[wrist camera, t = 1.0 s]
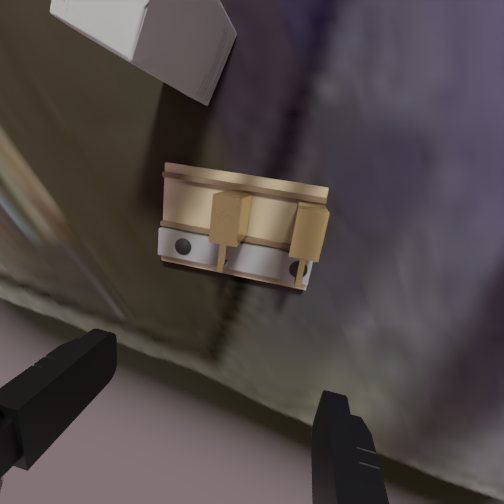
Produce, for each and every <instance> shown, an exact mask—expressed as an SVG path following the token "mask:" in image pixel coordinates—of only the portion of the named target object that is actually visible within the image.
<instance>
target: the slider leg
mask: <svg viewBox="0 0 504 504" xmlns="http://www.w3.org/2000/svg"><path fill="white" fill-rule="evenodd" d="M252 198H253V194H250V193H244V192H238V191H232V190H227V191H223V192H219V193H215V194H213V200H212V211H211V221H210V232H209V242H212V243H217V244H220V246H219V255H218V264H217V272H221V273H222V272H223V271H224V270H225V269H226V267H227V266H228V260H225V254H226V245H227V246H232V247H237V246H238V244H239V243H240V242H241V241H242V240H243V239H244V238H245V236H246V235H247V233H248V226H249V219H250V212H251V205H252Z"/></svg>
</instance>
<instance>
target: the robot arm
mask: <svg viewBox="0 0 504 504" xmlns="http://www.w3.org/2000/svg"><path fill="white" fill-rule="evenodd" d="M116 348H117V340H116V335H115V334H114V333H111V332H107V331H104V330H100V329H93V330H91V331H90V332H88V333H87V334H86V335H84V336H83V337H82V338H80V339H77V338H76V339H74V340H72V341H69V342H67V343H65V344H62V345H60V346H59V347H57V348H56V349H55V350H53V351H52V352H50V353H49V354H47V355H46V357H45V358H42V359H41V360H39V361H38V362H36V363H35V364H34V366H31V367H29V368H28V369H26V370H25V371H24V372H22V373H21V374H19V375H18V376H17V377H15V378H14V379H12V380H11V381H10V382H8V383H7V384H5V385H4V386H3V387H1V388H0V491H1V487H2V484H3V475H4V474H5V473H6V472H7V471H8V470H9V469H10V468H11V467H12V466H16V467H19V468H21V469H24V470H28V469H29V468H30V467H31V466H32V465H33V464H34V463H35V462H36V461H37V459H39V458H40V456H41V455H42V454H43V453H44V452H45V451H46V450H47V449H48V448H49V447H50V446H51V445H52V443H53V442H54V441H55V440H56V439H57V438H58V437H59V436H60V435H61V434H62V433H63V432H64V431H65V429H66V428H67V427H68V426H69V425H70V424H71V423H72V422H73V421H74V420H75V419H76V418H77V416H78V415H79V414H80V413H81V412H82V411H83V410H84V409H85V408H86V407H87V405H88V404H89V403H90V402H91V401H92V400H93V399H94V398H95V397H96V396H97V395H98V394H99V393H100V392H101V390H102V389H103V388H104V387H105V386H106V385H107V384H108V383H109V382H110V380H111V379H112V377H113V375H114V373H115V371H116V367H117V349H116ZM311 457H312V494H313V495H312V496H313V504H389V501H388V497H387V493H386V489H385V486H384V482H383V478H382V474H381V471H380V470H379V468H380V466H379V462H378V458H377V455H376V450H375V446H374V442H373V438H372V435H371V433H370V431H369V429H368V428H367V426H366V424H365V423H364V421H363V420H362V418H361V417H358V416H354V415H351V414H350V409H349V404H348V399H347V397H346V396H345V395H341V394H337V393H333V392H330V391H326V390H324V391H323V393H322V396H321V399H320V402H319V405H318V409H317V412H316V415H315V419H314V422H313V427H312V435H311Z"/></svg>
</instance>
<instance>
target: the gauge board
mask: <svg viewBox="0 0 504 504" xmlns="http://www.w3.org/2000/svg"><path fill="white" fill-rule="evenodd" d="M162 177H164V203H163V220H162V221H161V223H160V225H161V226H163V227H161V228H159V237H158V254H159V255H162V256H161V260H162V261H167V262H172V263H177V264H182V265H186V266H191V267H196V268H201V269H206V270H210V271H215V272H217V264H218V255H219V246H220V244H217V243H212V242H209V232H210V221H211V211H212V200H213V194H215V193H219V192H223V191H227V190H232V191H238V192H244V193H250V194H253V198H252V205H251V212H250V219H249V226H248V233H247V235H246V236H245V238H244V239H243V240H242V241H241V242H240V243H239V244H238V246H237V247H232V246H227V245H226V254H225V260H228V266H227V267H226V269H225V270H224V271H223V272H222V273H225V274H230V275H234V276H239V277H244V278H249V279H254V280H258V281H263V282H268V283H273V284H278V285H282V286H287V287H292V288H297V289H302V290H306V286H307V285H308V281H309V276H310V272H311V268H312V263H313V261H314V262H318V261H319V257H320V253H321V248H322V244H323V240H324V236H325V231H326V227H327V223H328V219H329V215H330V213H329V211H328V210H327V208H326V207H325V204H326V201H327V194H328V190H329V188H328V187H322V186H316V185H310V184H303V183H297V182H290V181H284V180H278V179H271V178H265V177H259V176H252V175H246V174H240V173H233V172H227V171H220V170H214V169H208V168H201V167H195V166H189V165H182V164H176V163H168V162H165V172H162ZM220 273H221V272H220Z"/></svg>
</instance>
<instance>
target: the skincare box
mask: <svg viewBox="0 0 504 504" xmlns="http://www.w3.org/2000/svg"><path fill="white" fill-rule="evenodd" d="M50 13H51V14H52V15H53V16H55V17H56V18H58V19H59V20H61V21H62V22H64V23H65V24H67V25H69V26H70V27H72V28H73V29H75V30H77V31H78V32H80V33H81V34H83V35H85V36H86V37H88V38H89V39H91V40H93V41H94V42H96V43H98V44H99V45H101V46H103V47H104V48H106V49H108V50H109V51H111V52H113V53H114V54H116V55H118V56H120V57H121V58H123V59H125V60H126V61H128V62H130V63H132V64H133V65H135V66H137V67H138V68H140V69H142V70H144V71H145V72H147V73H149V74H150V75H152V76H154V77H156V78H157V79H159V80H161V81H163V82H164V83H166V84H168V85H170V86H171V87H173V88H175V89H176V90H178V91H180V92H182V93H183V94H185V95H187V96H189V97H191V98H192V99H194V100H196V101H198V102H200V103H202V104H204V105H206V106H208V104H209V102H210V99H211V97H212V95H213V92H214V90H215V87H216V85H217V83H218V80H219V78H220V75H221V73H222V70H223V68H224V65H225V63H226V61H227V58H228V56H229V53H230V51H231V48H232V46H233V43H234V41H235V38H236V35H237V33H236V31H235V29H234V27H233V25H232V23H231V21H230V19H229V17H228V15H227V14H226V12H225V10H224V8H223V6H222V4H221V2H220V0H52V1H51V7H50Z"/></svg>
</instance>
